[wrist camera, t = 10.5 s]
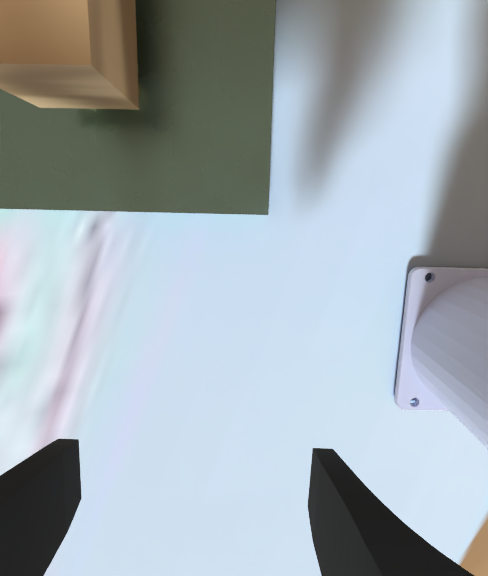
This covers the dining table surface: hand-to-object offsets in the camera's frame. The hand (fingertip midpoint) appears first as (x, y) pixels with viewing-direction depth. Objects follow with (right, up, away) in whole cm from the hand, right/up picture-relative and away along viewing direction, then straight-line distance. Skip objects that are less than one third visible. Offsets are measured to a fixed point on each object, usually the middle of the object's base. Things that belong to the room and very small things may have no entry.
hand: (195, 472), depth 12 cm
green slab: (-5, +18, +6) cm, 20 cm away
